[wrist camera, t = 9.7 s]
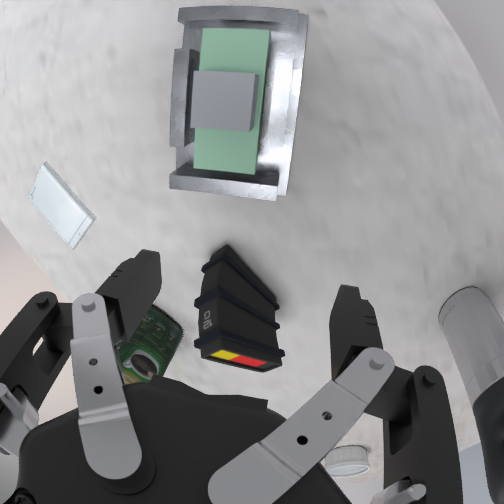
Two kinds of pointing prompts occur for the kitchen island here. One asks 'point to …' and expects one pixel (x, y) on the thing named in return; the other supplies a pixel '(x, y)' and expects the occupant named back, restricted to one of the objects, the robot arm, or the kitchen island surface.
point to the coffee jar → (149, 347)
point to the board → (235, 61)
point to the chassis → (274, 109)
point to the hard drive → (60, 206)
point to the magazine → (236, 316)
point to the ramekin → (346, 462)
